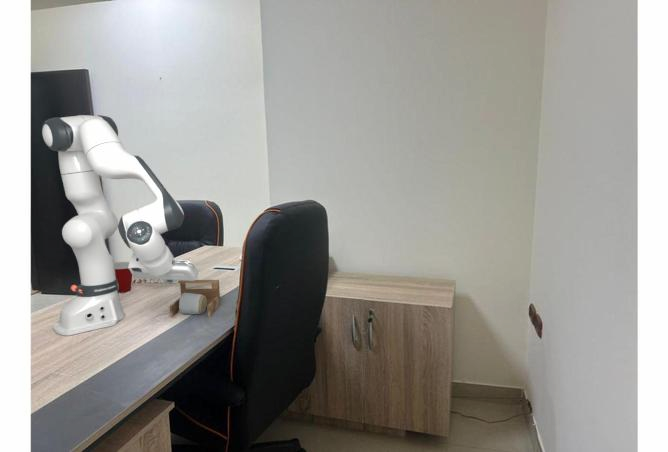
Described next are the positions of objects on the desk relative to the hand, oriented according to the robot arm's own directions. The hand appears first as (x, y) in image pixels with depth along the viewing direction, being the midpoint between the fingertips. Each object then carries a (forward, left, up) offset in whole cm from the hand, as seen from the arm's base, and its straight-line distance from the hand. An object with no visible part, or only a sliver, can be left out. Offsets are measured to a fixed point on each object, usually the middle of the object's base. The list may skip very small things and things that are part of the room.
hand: (172, 282), depth 149 cm
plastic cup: (+6, +57, -17) cm, 60 cm away
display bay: (+14, +10, -16) cm, 24 cm away
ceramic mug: (+13, +10, -17) cm, 23 cm away
